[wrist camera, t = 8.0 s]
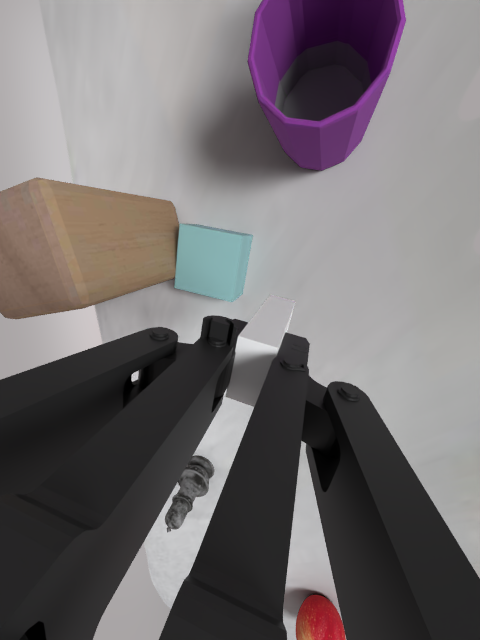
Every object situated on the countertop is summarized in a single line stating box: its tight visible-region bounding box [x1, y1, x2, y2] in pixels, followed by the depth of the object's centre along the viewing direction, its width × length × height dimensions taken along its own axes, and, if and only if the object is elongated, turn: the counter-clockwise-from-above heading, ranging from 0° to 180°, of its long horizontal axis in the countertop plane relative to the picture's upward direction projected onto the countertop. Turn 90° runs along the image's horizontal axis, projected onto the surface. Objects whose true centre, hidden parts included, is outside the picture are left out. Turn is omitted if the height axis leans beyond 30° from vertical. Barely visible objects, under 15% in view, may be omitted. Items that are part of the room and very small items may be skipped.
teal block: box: [174, 224, 253, 302], centre depth 36 cm, size 8×8×5 cm
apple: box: [296, 595, 346, 640], centre depth 49 cm, size 8×8×10 cm
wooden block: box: [0, 178, 179, 319], centre depth 31 cm, size 10×10×20 cm
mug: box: [248, 0, 406, 171], centre depth 22 cm, size 9×16×15 cm, turn 5°
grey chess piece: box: [165, 456, 214, 532], centre depth 46 cm, size 6×6×12 cm
